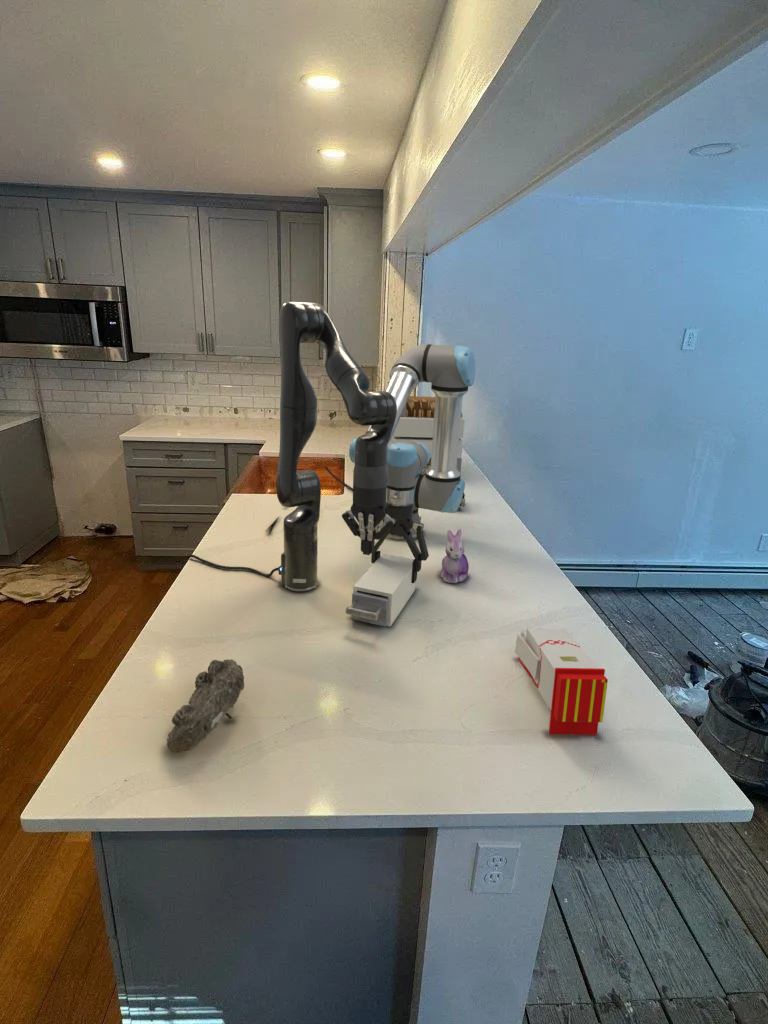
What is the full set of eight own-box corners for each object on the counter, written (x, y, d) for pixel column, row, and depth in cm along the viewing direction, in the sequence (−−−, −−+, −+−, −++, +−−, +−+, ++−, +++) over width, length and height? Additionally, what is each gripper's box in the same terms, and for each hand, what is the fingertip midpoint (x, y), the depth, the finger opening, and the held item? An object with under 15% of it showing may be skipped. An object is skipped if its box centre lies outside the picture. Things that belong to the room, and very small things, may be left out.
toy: (561, 612, 132) (617, 675, 103) (556, 665, 135) (608, 741, 106) (510, 611, 132) (551, 674, 102) (505, 664, 134) (544, 741, 105)
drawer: (377, 638, 134) (378, 611, 132) (342, 630, 137) (343, 604, 135) (410, 590, 158) (411, 567, 155) (379, 584, 160) (380, 561, 158)
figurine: (450, 587, 163) (454, 538, 158) (431, 572, 171) (435, 526, 166) (477, 581, 167) (482, 534, 162) (457, 567, 175) (461, 522, 170)
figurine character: (465, 515, 224) (460, 499, 237) (467, 498, 221) (462, 483, 234) (448, 515, 224) (444, 499, 237) (450, 498, 220) (445, 482, 234)
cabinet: (390, 626, 141) (392, 594, 138) (352, 618, 145) (353, 585, 141) (415, 589, 161) (417, 559, 158) (381, 582, 164) (382, 553, 161)
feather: (286, 511, 220) (288, 507, 220) (268, 535, 193) (271, 531, 193) (282, 508, 220) (285, 504, 219) (263, 533, 193) (266, 528, 193)
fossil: (192, 660, 117) (244, 628, 112) (224, 691, 120) (276, 661, 115) (142, 746, 98) (202, 712, 93) (182, 779, 101) (242, 748, 96)
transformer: (382, 463, 289) (386, 382, 275) (445, 464, 293) (451, 384, 279) (390, 482, 257) (394, 392, 243) (460, 483, 261) (468, 394, 247)
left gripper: (335, 482, 125) (334, 554, 130) (392, 491, 121) (389, 565, 126) (349, 474, 131) (347, 543, 137) (403, 482, 127) (399, 552, 133)
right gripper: (354, 500, 151) (352, 575, 158) (437, 513, 144) (431, 591, 151) (364, 492, 157) (362, 564, 165) (444, 504, 150) (438, 579, 158)
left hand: (367, 553), depth 132 cm, fingers closed
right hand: (395, 577), depth 158 cm, fingers closed on cabinet, 10 cm apart
